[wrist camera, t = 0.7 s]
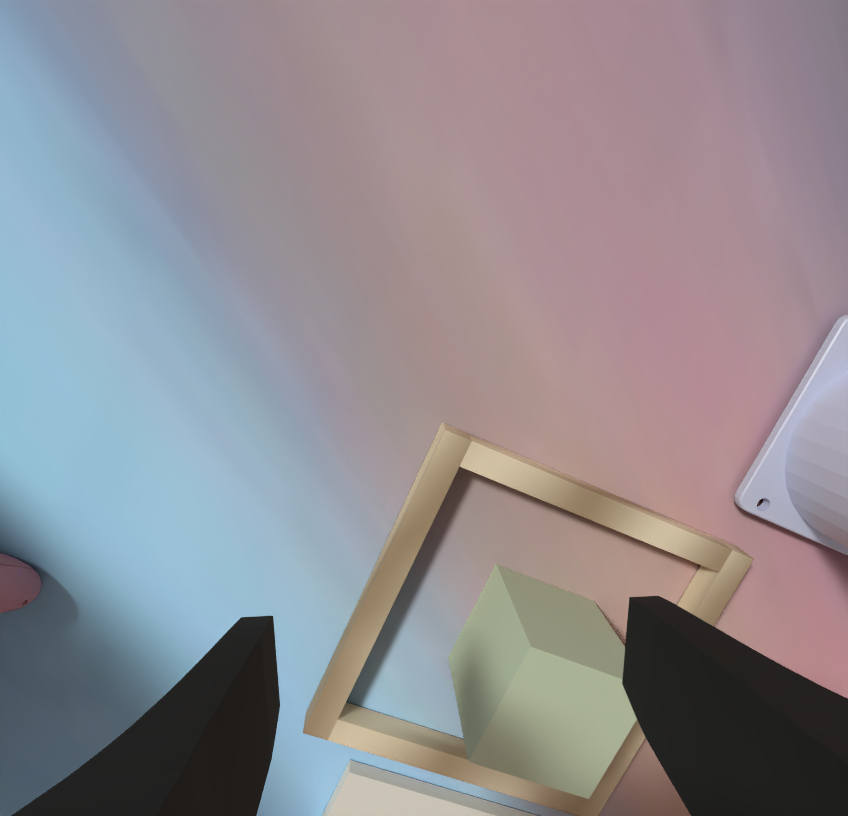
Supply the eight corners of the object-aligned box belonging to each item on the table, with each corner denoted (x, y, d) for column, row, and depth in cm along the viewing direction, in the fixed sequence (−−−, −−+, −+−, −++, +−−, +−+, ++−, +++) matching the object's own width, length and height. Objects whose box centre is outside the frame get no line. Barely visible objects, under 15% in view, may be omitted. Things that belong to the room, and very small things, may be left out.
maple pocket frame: (737, 546, 22) (753, 559, 21) (586, 799, 24) (594, 820, 23) (442, 422, 20) (445, 430, 19) (306, 713, 22) (303, 732, 21)
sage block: (593, 600, 22) (654, 690, 17) (544, 688, 23) (588, 799, 18) (495, 563, 22) (530, 646, 17) (448, 656, 22) (468, 761, 17)
